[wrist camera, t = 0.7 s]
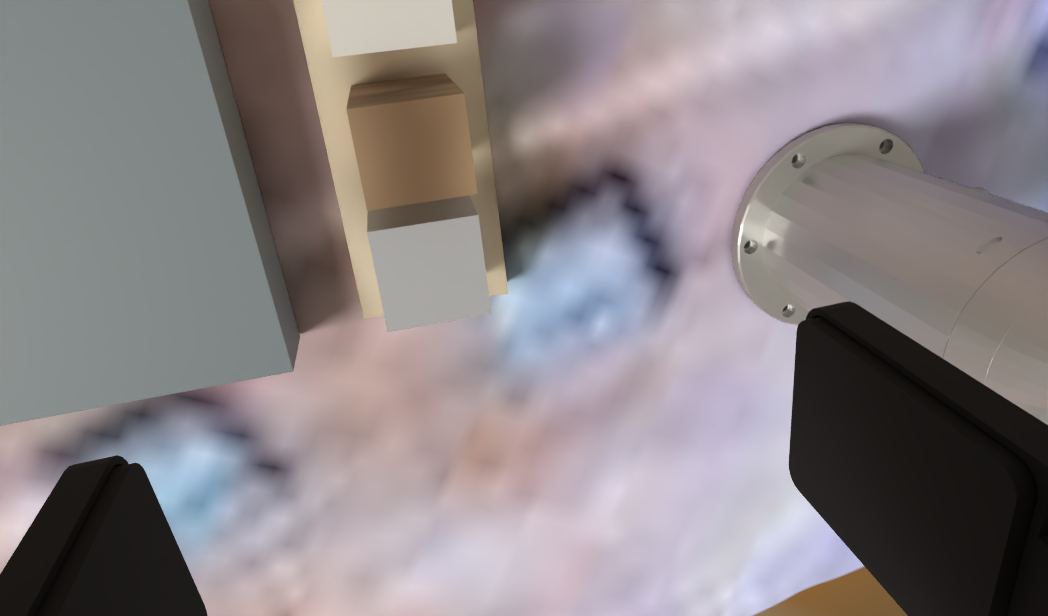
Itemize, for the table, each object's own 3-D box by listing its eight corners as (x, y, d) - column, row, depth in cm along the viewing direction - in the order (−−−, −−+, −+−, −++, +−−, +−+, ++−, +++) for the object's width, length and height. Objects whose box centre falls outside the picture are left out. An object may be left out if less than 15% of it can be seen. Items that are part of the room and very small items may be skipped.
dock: (174, -122, 30) (148, -137, 26) (300, 336, 39) (293, 371, 35) (-195, -89, 28) (-279, -101, 24) (31, 384, 37) (-5, 426, 33)
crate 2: (465, 187, 36) (478, 214, 32) (477, 275, 38) (491, 313, 34) (367, 201, 35) (367, 232, 31) (386, 291, 37) (387, 332, 33)
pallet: (453, -118, 32) (483, -157, 24) (502, 280, 41) (537, 356, 32) (275, -101, 31) (239, -136, 23) (364, 303, 40) (362, 388, 31)
